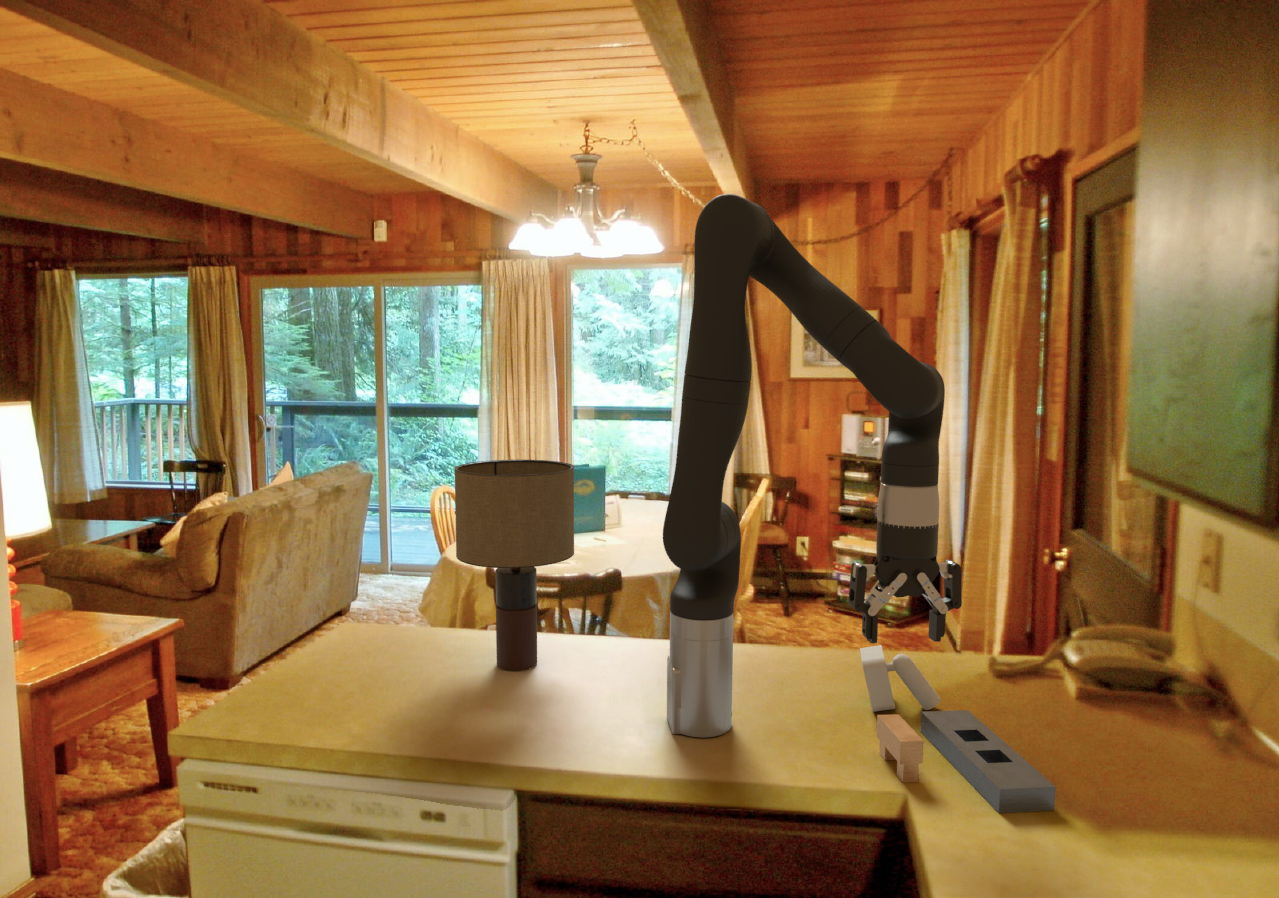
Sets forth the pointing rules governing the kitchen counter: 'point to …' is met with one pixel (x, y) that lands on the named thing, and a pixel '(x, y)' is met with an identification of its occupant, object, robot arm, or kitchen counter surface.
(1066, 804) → the kitchen counter surface
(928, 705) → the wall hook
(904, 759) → the wooden block
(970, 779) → the rail
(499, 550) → the lamp
